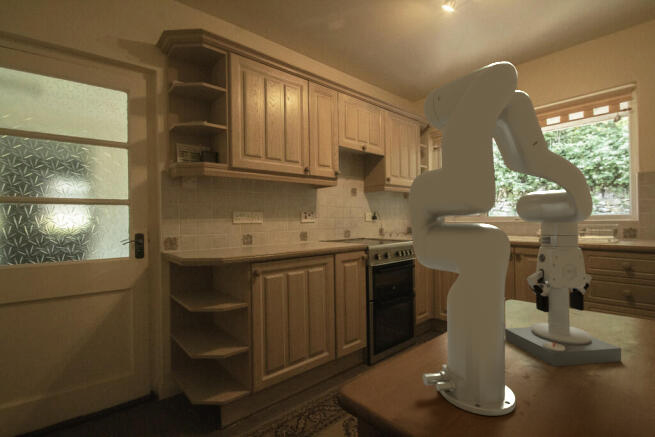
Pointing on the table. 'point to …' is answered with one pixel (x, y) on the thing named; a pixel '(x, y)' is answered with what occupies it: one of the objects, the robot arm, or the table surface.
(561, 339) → the kitchen scale
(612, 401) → the table surface
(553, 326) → the skincare box
